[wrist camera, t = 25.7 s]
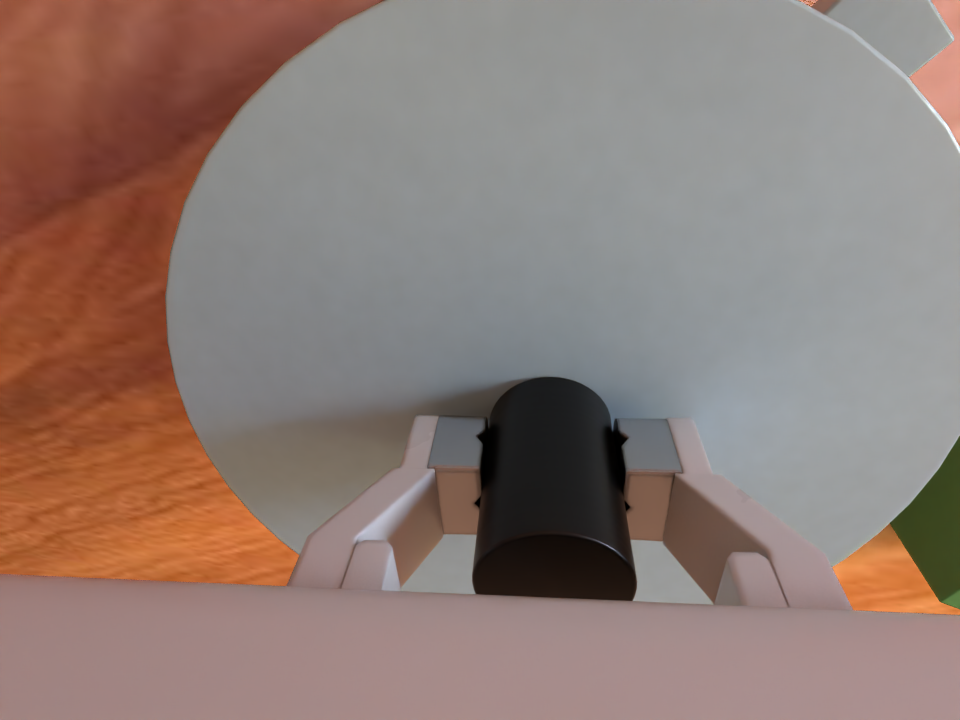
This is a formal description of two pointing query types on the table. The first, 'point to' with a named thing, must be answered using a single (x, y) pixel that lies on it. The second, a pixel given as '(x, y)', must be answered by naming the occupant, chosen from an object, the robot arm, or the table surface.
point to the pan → (894, 28)
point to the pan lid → (576, 275)
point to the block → (936, 529)
